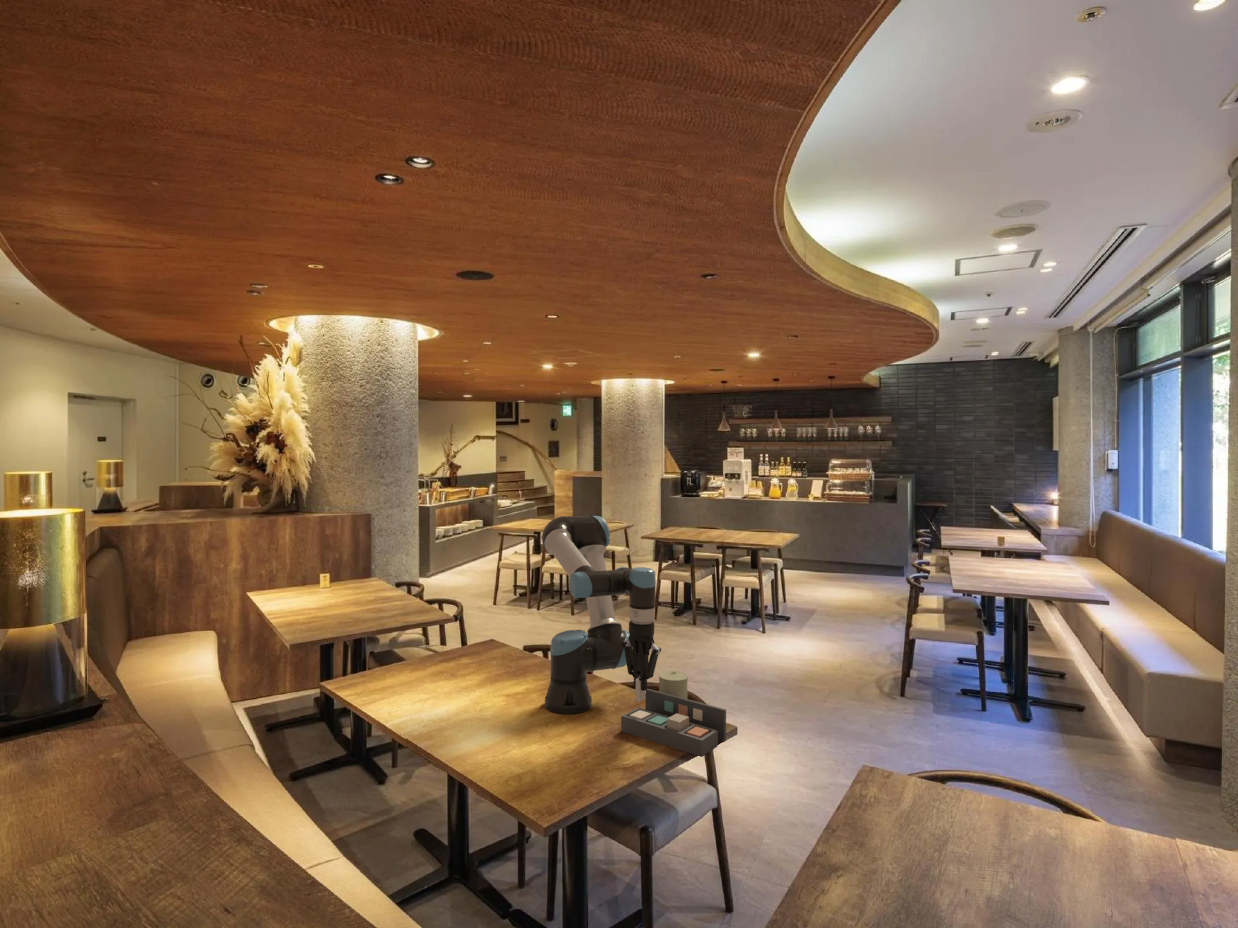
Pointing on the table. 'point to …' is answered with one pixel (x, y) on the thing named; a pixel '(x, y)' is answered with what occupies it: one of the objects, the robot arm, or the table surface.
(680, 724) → the grey block
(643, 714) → the key
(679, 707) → the screen
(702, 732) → the key
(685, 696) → the can
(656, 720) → the key
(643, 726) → the key frame
